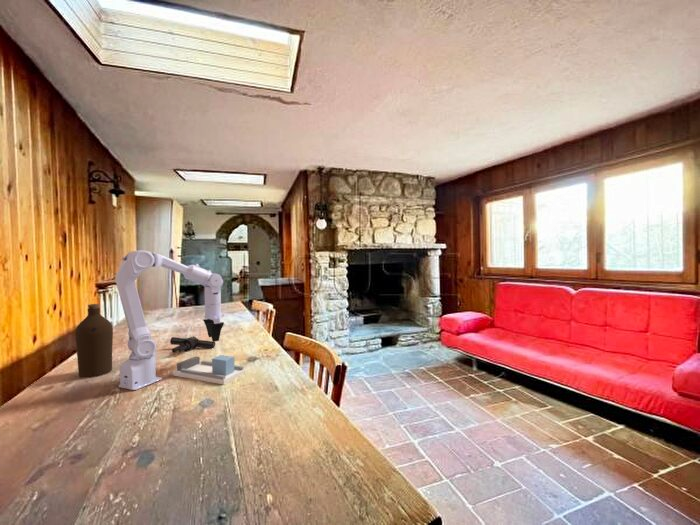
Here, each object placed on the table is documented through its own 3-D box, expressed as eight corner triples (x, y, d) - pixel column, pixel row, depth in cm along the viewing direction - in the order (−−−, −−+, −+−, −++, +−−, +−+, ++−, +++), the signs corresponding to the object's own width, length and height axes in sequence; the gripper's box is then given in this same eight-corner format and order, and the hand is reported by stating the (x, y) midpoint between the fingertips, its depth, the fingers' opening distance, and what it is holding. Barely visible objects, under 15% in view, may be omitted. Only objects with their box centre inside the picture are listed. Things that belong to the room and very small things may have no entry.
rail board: (224, 384, 101) (223, 372, 101) (173, 375, 110) (173, 364, 110) (245, 373, 111) (244, 362, 111) (196, 365, 119) (196, 355, 119)
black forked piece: (201, 347, 129) (217, 337, 144) (155, 342, 130) (176, 333, 145) (200, 359, 130) (216, 348, 145) (154, 354, 130) (175, 344, 145)
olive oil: (120, 369, 116) (118, 302, 115) (88, 380, 106) (85, 307, 105) (102, 366, 120) (100, 301, 119) (69, 376, 110) (67, 305, 109)
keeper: (226, 375, 105) (225, 360, 105) (212, 373, 107) (212, 358, 107) (234, 371, 109) (234, 356, 108) (221, 368, 111) (220, 355, 111)
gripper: (228, 305, 117) (228, 341, 117) (219, 300, 129) (220, 333, 129) (207, 307, 113) (208, 344, 113) (201, 302, 125) (201, 336, 125)
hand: (213, 338), depth 121 cm, fingers open, 7 cm apart
